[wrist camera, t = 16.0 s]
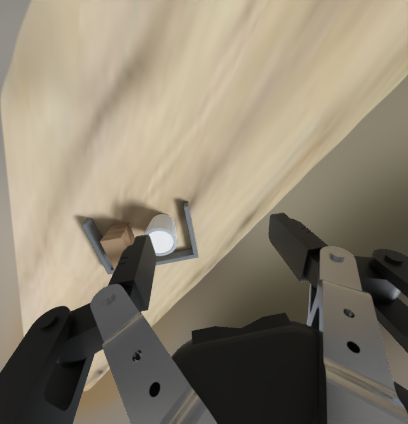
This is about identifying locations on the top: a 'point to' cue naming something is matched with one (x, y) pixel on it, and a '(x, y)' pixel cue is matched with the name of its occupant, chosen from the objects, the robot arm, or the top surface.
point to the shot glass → (162, 234)
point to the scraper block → (117, 241)
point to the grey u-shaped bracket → (172, 257)
